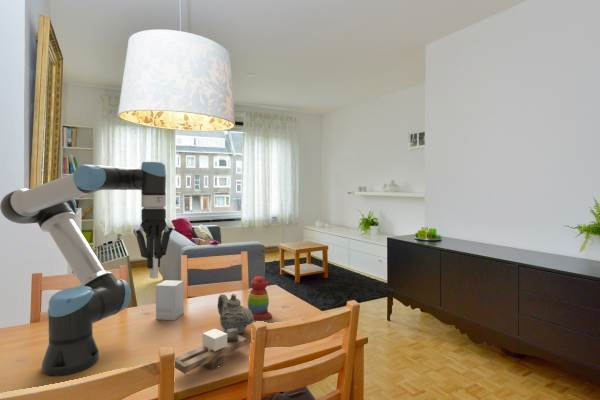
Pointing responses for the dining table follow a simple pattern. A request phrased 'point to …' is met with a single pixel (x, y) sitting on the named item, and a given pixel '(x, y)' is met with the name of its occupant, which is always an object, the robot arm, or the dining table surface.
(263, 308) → the stacking bear
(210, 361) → the beam
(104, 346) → the dining table surface
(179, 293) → the supplement box
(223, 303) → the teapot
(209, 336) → the rider
